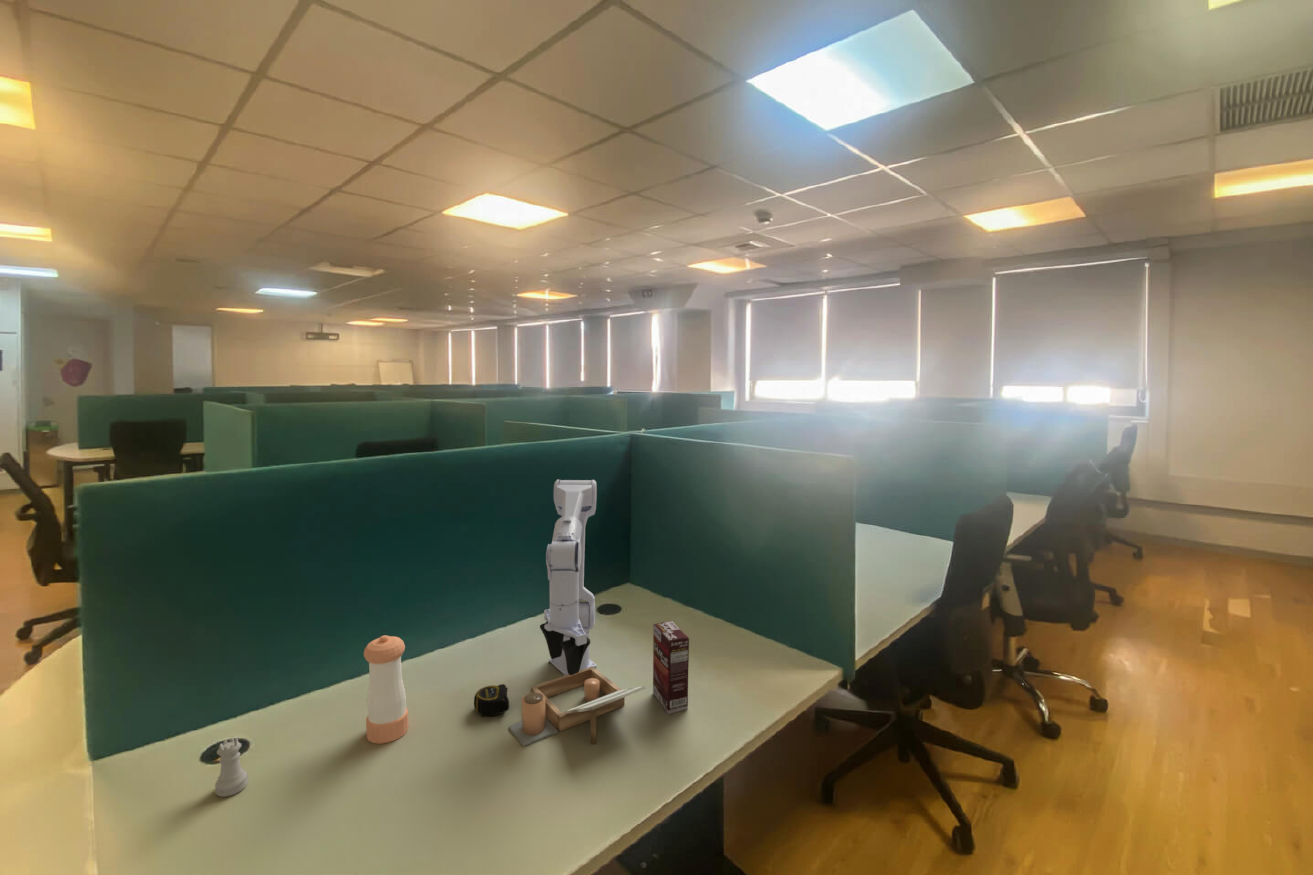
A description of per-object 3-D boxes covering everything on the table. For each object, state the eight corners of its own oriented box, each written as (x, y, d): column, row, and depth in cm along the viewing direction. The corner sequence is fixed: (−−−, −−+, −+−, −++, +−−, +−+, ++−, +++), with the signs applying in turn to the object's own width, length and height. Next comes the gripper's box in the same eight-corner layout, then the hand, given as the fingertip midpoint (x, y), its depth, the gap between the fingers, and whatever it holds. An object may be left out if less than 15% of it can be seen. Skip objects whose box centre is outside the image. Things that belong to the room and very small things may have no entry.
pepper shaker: (416, 723, 111) (413, 630, 109) (390, 747, 104) (386, 647, 102) (385, 717, 113) (382, 625, 111) (357, 739, 106) (353, 642, 104)
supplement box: (651, 693, 123) (652, 623, 122) (671, 688, 125) (673, 619, 124) (667, 715, 115) (668, 640, 114) (688, 710, 117) (690, 636, 116)
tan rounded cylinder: (581, 696, 122) (581, 681, 121) (594, 691, 124) (594, 676, 123) (589, 703, 119) (589, 687, 119) (602, 698, 121) (602, 683, 121)
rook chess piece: (244, 775, 97) (240, 730, 96) (252, 787, 94) (249, 742, 93) (211, 789, 93) (208, 744, 92) (219, 802, 91) (215, 755, 90)
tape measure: (509, 716, 115) (509, 698, 114) (474, 721, 113) (473, 704, 112) (507, 697, 121) (507, 681, 121) (474, 702, 119) (473, 686, 119)
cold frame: (530, 700, 120) (530, 660, 119) (592, 678, 129) (592, 640, 128) (584, 757, 102) (584, 710, 101) (651, 727, 111) (651, 683, 110)
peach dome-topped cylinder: (518, 726, 110) (517, 696, 110) (538, 718, 113) (538, 688, 112) (529, 738, 107) (528, 707, 106) (549, 728, 110) (549, 698, 109)
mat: (508, 727, 111) (508, 725, 111) (541, 715, 115) (541, 713, 115) (523, 746, 105) (523, 744, 105) (557, 732, 109) (557, 730, 109)
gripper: (530, 593, 116) (530, 655, 118) (563, 618, 105) (563, 687, 107) (561, 585, 121) (561, 646, 122) (596, 609, 109) (596, 675, 111)
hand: (564, 664), depth 115 cm, fingers open, 7 cm apart
